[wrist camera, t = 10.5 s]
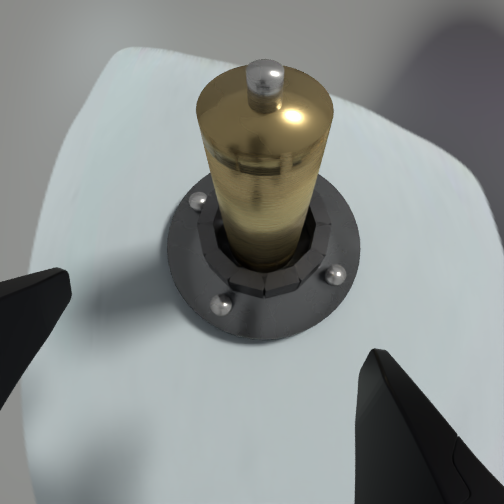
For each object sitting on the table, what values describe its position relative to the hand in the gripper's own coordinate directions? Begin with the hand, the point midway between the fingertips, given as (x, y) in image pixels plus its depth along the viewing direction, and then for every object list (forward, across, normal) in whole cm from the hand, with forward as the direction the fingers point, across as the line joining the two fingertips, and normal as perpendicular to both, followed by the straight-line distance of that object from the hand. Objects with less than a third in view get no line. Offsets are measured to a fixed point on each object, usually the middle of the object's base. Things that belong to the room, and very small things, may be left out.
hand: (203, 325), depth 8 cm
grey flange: (+15, 0, +4) cm, 16 cm away
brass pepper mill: (+14, 0, +3) cm, 15 cm away
